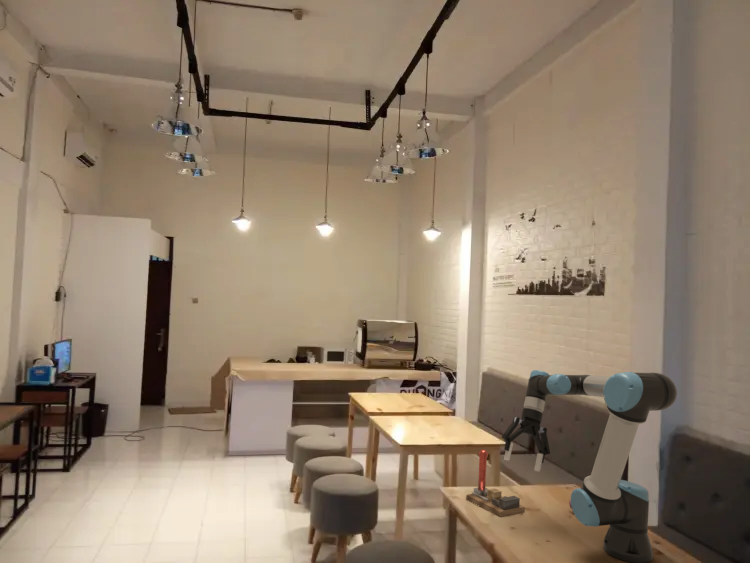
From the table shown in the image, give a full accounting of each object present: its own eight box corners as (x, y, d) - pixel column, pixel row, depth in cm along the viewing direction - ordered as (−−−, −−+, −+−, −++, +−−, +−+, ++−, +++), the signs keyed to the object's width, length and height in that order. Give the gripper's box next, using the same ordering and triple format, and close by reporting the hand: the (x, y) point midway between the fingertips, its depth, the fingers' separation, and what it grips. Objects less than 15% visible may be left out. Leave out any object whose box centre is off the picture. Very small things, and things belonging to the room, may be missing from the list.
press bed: (524, 512, 216) (525, 497, 216) (500, 517, 209) (501, 502, 209) (489, 495, 233) (490, 482, 233) (466, 499, 226) (466, 486, 226)
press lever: (494, 497, 225) (496, 452, 225) (485, 498, 222) (487, 453, 223) (482, 491, 231) (484, 447, 232) (473, 493, 228) (475, 449, 229)
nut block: (501, 501, 221) (501, 491, 221) (493, 502, 219) (494, 492, 219) (494, 497, 224) (494, 488, 224) (486, 499, 222) (487, 489, 222)
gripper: (553, 420, 217) (543, 474, 210) (500, 400, 211) (488, 454, 204) (565, 420, 210) (555, 476, 203) (511, 399, 204) (499, 456, 197)
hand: (521, 465), depth 204 cm, fingers open, 13 cm apart
